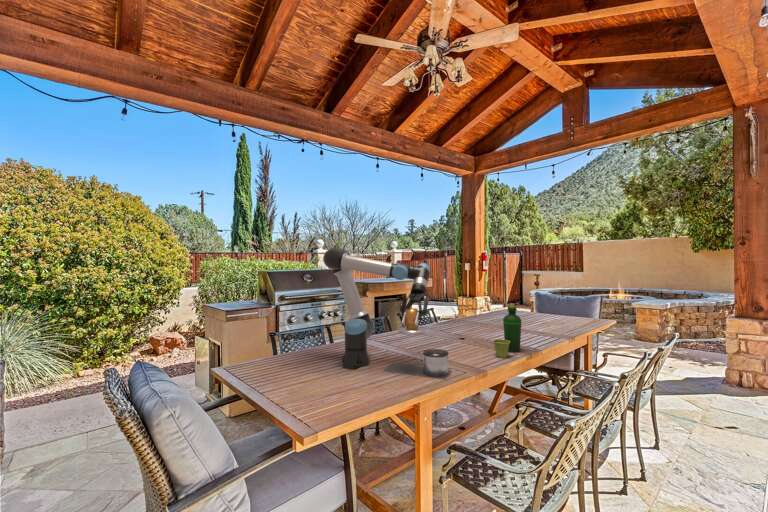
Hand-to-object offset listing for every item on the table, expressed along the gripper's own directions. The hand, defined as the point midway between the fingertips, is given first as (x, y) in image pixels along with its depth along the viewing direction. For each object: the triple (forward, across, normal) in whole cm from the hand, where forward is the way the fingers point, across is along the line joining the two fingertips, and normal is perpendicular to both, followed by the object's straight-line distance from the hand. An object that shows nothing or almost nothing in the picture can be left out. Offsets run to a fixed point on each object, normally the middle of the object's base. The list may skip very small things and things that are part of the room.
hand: (409, 324), depth 170 cm
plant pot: (-16, -38, -52) cm, 66 cm away
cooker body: (+14, -12, -19) cm, 26 cm away
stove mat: (+15, -2, -20) cm, 25 cm away
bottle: (-27, -43, -62) cm, 81 cm away
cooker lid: (+1, 0, -6) cm, 6 cm away
